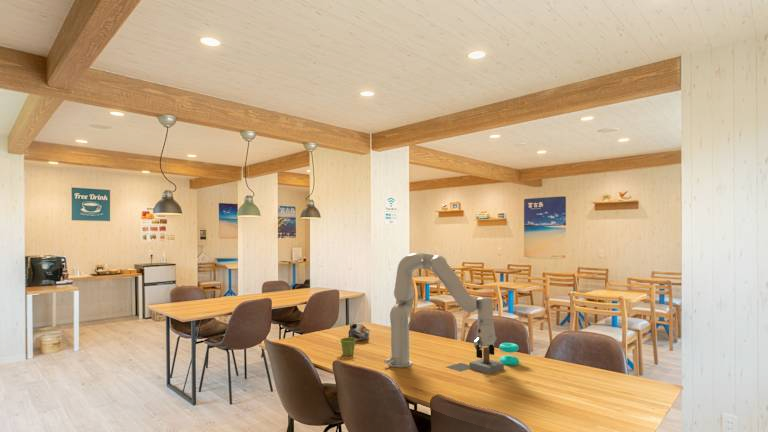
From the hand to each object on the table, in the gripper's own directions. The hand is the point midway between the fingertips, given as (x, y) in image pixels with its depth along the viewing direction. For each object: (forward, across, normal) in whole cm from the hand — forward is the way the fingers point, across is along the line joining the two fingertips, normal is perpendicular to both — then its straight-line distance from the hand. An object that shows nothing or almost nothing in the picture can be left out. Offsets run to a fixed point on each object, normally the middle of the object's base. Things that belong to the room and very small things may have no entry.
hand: (485, 356), depth 222 cm
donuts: (+7, +18, -2) cm, 20 cm away
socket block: (+7, 0, 0) cm, 7 cm away
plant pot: (+8, -35, +70) cm, 79 cm away
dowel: (+7, 0, 0) cm, 7 cm away
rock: (+9, -7, +97) cm, 97 cm away
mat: (+7, -7, +10) cm, 14 cm away
